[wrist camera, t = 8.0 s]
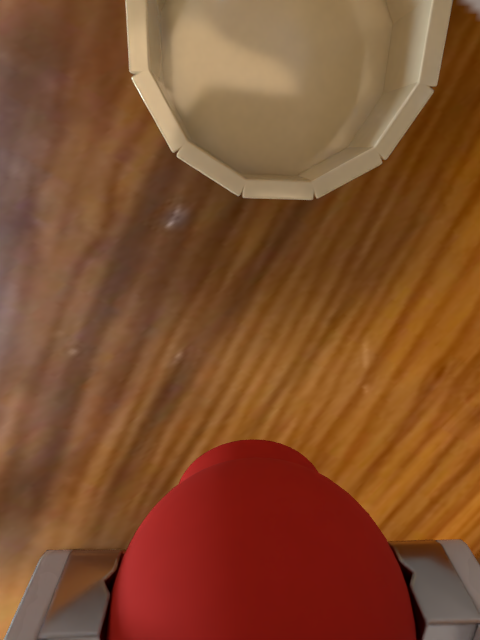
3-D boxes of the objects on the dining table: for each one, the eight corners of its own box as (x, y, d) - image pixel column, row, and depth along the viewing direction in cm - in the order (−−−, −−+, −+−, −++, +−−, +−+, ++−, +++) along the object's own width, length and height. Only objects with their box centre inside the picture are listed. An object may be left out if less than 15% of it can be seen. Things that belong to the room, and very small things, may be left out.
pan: (369, 60, 23) (518, -28, 11) (277, 204, 26) (323, 251, 14) (98, -157, 19) (-89, -615, 8) (25, 39, 22) (-194, -81, 10)
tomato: (128, 405, 9) (-8, 777, 4) (373, 402, 9) (578, 748, 4) (147, 577, 11) (77, 975, 6) (347, 571, 11) (458, 949, 6)
